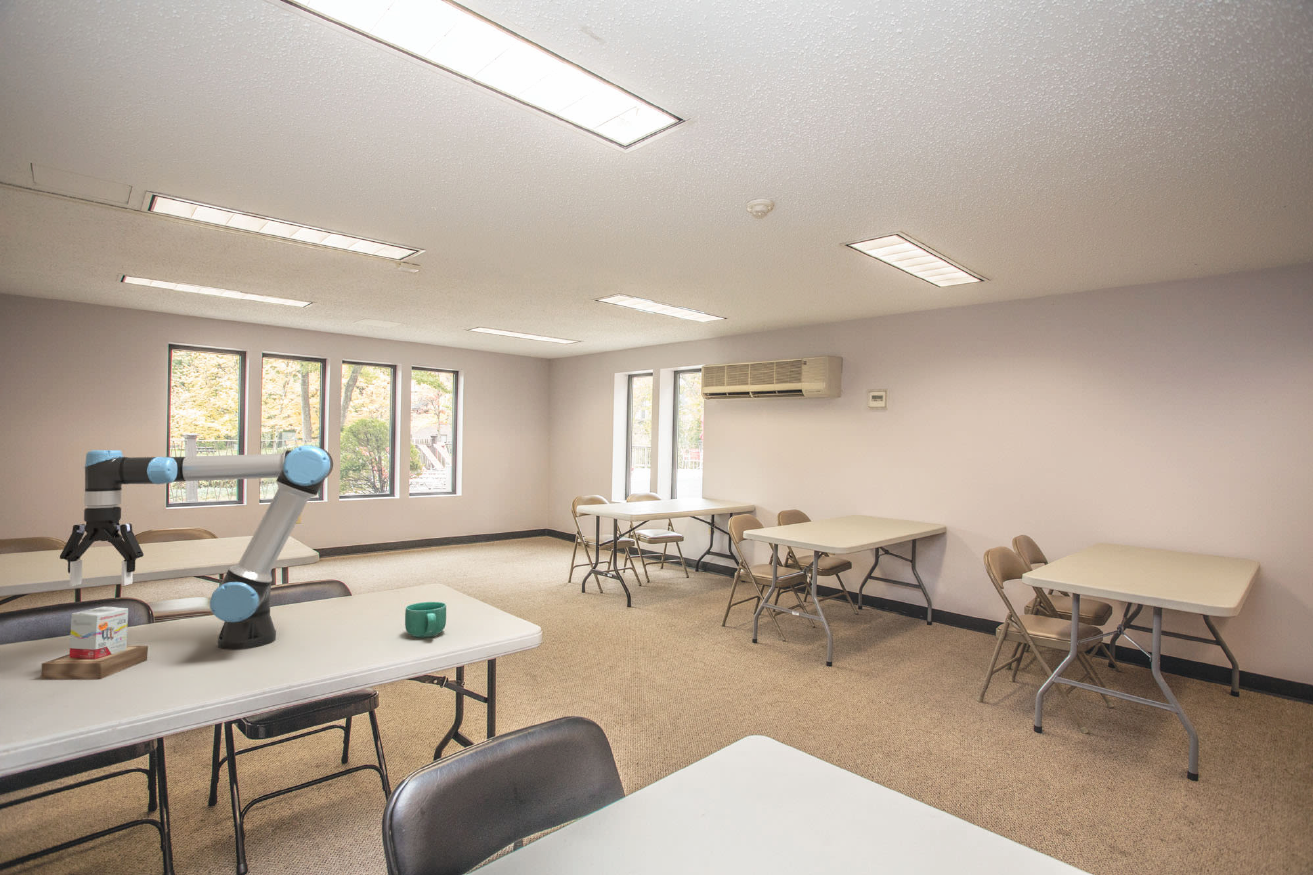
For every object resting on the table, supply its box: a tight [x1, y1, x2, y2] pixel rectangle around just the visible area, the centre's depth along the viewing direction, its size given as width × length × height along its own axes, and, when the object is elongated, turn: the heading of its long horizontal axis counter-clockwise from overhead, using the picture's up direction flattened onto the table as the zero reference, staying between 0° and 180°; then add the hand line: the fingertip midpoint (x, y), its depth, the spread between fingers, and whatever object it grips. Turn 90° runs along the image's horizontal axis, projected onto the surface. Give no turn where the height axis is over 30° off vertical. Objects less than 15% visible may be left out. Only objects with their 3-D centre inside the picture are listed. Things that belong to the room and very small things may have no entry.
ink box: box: [69, 606, 129, 659], centre depth 166 cm, size 9×9×12 cm
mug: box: [404, 601, 447, 639], centre depth 198 cm, size 17×13×10 cm
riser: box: [40, 645, 149, 680], centre depth 166 cm, size 15×15×4 cm
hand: (101, 584), depth 167 cm, fingers open, 13 cm apart
